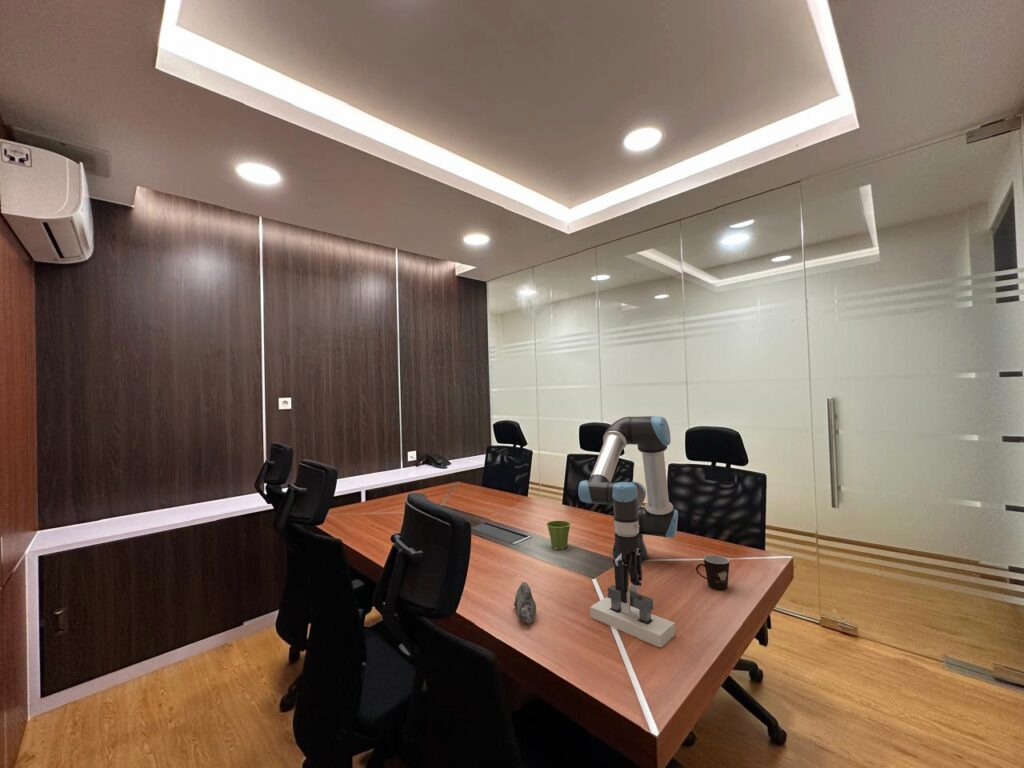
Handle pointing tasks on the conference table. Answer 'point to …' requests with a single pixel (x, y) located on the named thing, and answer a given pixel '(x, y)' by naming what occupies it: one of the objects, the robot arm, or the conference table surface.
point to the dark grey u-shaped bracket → (632, 603)
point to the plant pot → (559, 533)
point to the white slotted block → (634, 623)
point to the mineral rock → (525, 603)
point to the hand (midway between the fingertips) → (630, 608)
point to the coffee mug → (716, 571)
